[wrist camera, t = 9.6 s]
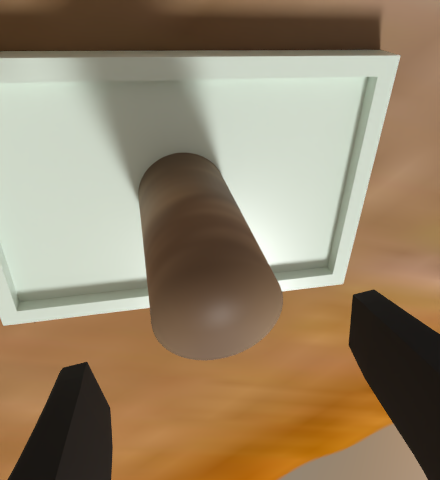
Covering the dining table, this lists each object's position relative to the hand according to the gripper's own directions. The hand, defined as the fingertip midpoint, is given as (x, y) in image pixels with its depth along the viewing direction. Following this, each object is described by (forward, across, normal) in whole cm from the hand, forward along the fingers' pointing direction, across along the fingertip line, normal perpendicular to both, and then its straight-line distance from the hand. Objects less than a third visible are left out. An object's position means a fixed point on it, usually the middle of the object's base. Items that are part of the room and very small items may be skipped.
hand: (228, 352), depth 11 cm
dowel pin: (+9, 0, 0) cm, 9 cm away
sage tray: (+10, 0, 0) cm, 10 cm away
